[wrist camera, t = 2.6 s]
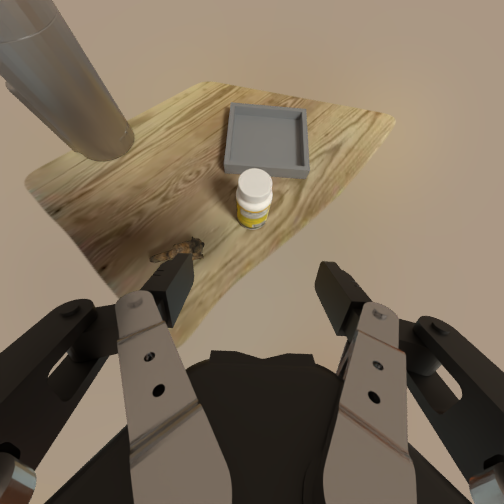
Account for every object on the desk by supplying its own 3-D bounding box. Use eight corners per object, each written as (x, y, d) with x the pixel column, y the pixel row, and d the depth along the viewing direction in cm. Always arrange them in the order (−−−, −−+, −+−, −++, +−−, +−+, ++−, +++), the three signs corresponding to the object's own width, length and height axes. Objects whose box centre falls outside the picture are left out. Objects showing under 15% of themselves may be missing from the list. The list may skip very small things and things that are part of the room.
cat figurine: (214, 259, 26) (203, 252, 22) (163, 272, 27) (143, 268, 23) (211, 241, 27) (200, 231, 23) (161, 254, 28) (142, 247, 24)
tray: (225, 173, 31) (223, 164, 29) (231, 113, 35) (230, 102, 33) (305, 178, 32) (309, 170, 30) (302, 119, 36) (306, 109, 34)
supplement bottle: (243, 199, 30) (244, 159, 22) (270, 209, 29) (281, 172, 21) (232, 224, 28) (228, 191, 20) (260, 235, 28) (267, 205, 20)
